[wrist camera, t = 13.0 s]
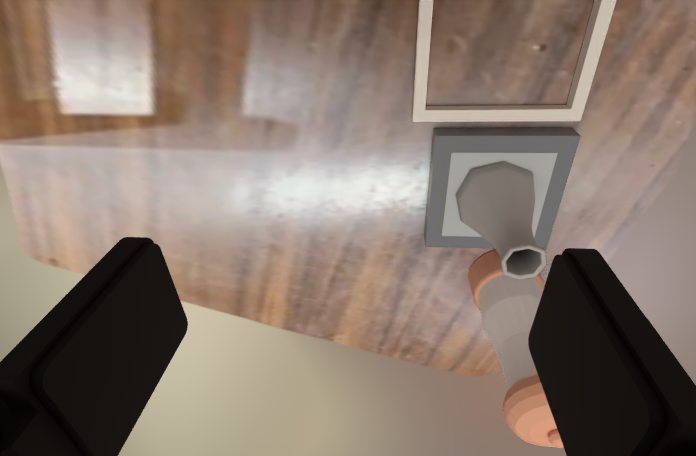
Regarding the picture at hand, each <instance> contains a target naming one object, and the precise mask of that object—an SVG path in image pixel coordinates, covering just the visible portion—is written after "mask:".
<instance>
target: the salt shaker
mask: <svg viewBox="0 0 696 456" xmlns="http://www.w3.org/2000/svg"><path fill="white" fill-rule="evenodd" d="M469 281H470V285H471V289H472V293H473V297H474V302H475V304H476V306H477V307H478V308H479V310H480V311H481V315H482V320H483V324H484V329H485V331H486V333H487V335H488V337H489V339H490V341H491V344H492V346H493V348H494V350H495V352H496V354H497V356H498V358H499V362H500V365H501V369H502V372H503V376H504V379H505V383H506V387H507V390H508V391H507V393H506V396H505V399H504V402H503V414H504V418H505V420H506V422H507V423H508V425H509V427H510V428H511V429H512V430H513V431H514V432H515V433H516V434H517V435H518V436H519V437H520V438H521V439H523V440H525V441H527V442H529V443H532V444H536V445H539V446H550V447H557V448H564V446H563V443H562V441H561V438H560V435H559V432H558V429H557V427H556V424H555V421H554V418H553V415H552V413H551V410H550V407H549V404H548V401H547V399H546V396H545V393H544V390H543V387H542V385H541V382H540V379H539V376H538V373H537V371H536V368H535V365H534V362H533V359H532V356H531V354H530V351H529V345H528V337H529V333H530V330H531V327H532V324H533V321H534V318H535V315H536V312H537V308H538V305H539V302H540V299H541V296H542V293H543V290H544V287H545V284H544V282H543V280H542V277H541V275H540V273H539V274H538V275H537V277H533V278H526V279H520V280H517V279H515V278H512V277H509V276H506V275H503V273H502V266H501V256H500V255H499V253H498V252H497V251H496V250H492V251H490V252H488V253H486V254H484V255H482V256H481V257H479V258H478V259H477V260H476V261H475V262H474V263H473V265H472V266H471V268H470V271H469Z"/></svg>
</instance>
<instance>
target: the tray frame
mask: <svg viewBox="0 0 696 456" xmlns="http://www.w3.org/2000/svg"><path fill="white" fill-rule="evenodd" d="M615 3H616V0H594V4H593V7H592V11H591V15H590V18H589V22H588V26H587V29H586V33H585V37H584V40H583V44H582V48H581V52H580V55H579V59H578V63H577V66H576V70H575V74H574V77H573V81H572V85H571V88H570V92H569V96H568V99H567V103H566V105H506V106H426V92H427V78H428V65H429V51H430V38H431V24H432V11H433V0H419V4H418V22H417V40H416V58H415V76H414V94H413V112H412V120H413V122H474V121H581V117H582V114H583V111H584V107H585V104H586V101H587V97H588V94H589V91H590V87H591V84H592V80H593V77H594V74H595V70H596V67H597V64H598V60H599V57H600V54H601V50H602V47H603V44H604V40H605V37H606V34H607V30H608V27H609V23H610V20H611V17H612V13H613V10H614V7H615Z"/></svg>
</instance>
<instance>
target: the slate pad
mask: <svg viewBox="0 0 696 456" xmlns="http://www.w3.org/2000/svg"><path fill="white" fill-rule="evenodd" d="M579 140H580V135H579V134H578V133H577V132H576V131H575V130H574V129H573V128H434V130H433V142H432V153H431V165H430V176H429V187H428V199H427V210H426V221H425V233H424V238H425V246H426V247H452V248H491V249H495V248H494V247H493V245H492V244H491V243H489V242H488V241H487V240H486V239H484V238H483V237H482V236H481V235H479V234H478V233H477V232H476V231H474V230H473V229H471V228H470V227H468V226H467V225H466V224H464V223H463V222H462V221H460V216H459V210H458V205H457V200H456V194H457V192H458V191H459V189H460V187H461V186H462V184H463V182H464V180H465V179H466V177H467V175H468V174H469V172H470V170H471V169H476V168H480V167H484V166H489V165H493V164H497V163H502V162H506V163H509V164H511V165H514V166H516V167H519V168H522V169H524V170H527V171H530V172H532V173H533V178H534V192H535V206H534V213H533V221H532V232H533V237H534V239H535V241H536V243H537V245H538V246H540V247H543V248H544V249H545V250H546V248H547V245H548V241H549V238H550V235H551V231H552V228H553V225H554V222H555V218H556V215H557V212H558V209H559V205H560V202H561V199H562V195H563V192H564V189H565V186H566V182H567V179H568V176H569V173H570V169H571V166H572V163H573V159H574V156H575V153H576V150H577V146H578V143H579Z"/></svg>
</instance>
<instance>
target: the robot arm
mask: <svg viewBox="0 0 696 456" xmlns="http://www.w3.org/2000/svg"><path fill="white" fill-rule="evenodd" d="M187 326H188V322H187V318H186V315H185V313H184V310H183V307H182V304H181V302H180V299H179V296H178V294H177V291H176V288H175V286H174V283H173V280H172V278H171V275H170V272H169V270H168V267H167V264H166V262H165V259H164V256H163V254H162V251H161V249H160V247H159V246H158V245H157V244H154V242H153V241H152V240H151V239H150V238H140V237H125V238H122V239H121V240H120V241H119V242H118V243H117V244H116V245H115V246H114V247H113V248H112V249H111V250H110V251H109V252H108V253H107V254H106V255H105V256H104V257H103V258H102V259H101V260H100V261H99V262H98V263H97V264H96V265H95V266H94V267H93V268H92V269H91V270H90V271H89V272H88V273H87V274H86V275H85V276H84V277H83V278H82V279H81V281H79V283H78V284H76V286H75V287H74V288H73V289H72V290H71V291H70V292H69V293H68V294H67V295H66V296H65V297H64V298H63V299H62V300H61V301H60V302H59V303H58V304H57V305H56V306H55V307H54V308H53V309H52V310H51V311H50V312H49V313H48V314H47V315H46V316H45V317H44V318H43V319H42V320H41V321H40V322H39V323H38V324H37V325H36V326H35V327H34V328H33V329H32V330H31V331H30V332H29V333H28V334H27V335H26V337H24V339H23V340H22V341H20V342H19V344H18V345H17V346H16V347H15V348H14V349H13V350H12V351H11V352H10V353H9V354H8V355H7V356H6V357H5V358H4V359H3V360H2V361H1V362H0V456H118V454H119V452H120V451H121V449H122V447H123V445H124V443H125V442H126V440H127V438H128V436H129V434H130V433H131V431H132V429H133V427H134V425H135V424H136V422H137V420H138V418H139V416H140V415H141V413H142V411H143V409H144V408H145V406H146V404H147V402H148V400H149V399H150V397H151V395H152V393H153V391H154V390H155V387H156V386H157V384H158V382H159V381H160V379H161V377H162V375H163V373H164V371H165V370H166V368H167V366H168V364H169V363H170V361H171V359H172V357H173V355H174V354H175V352H176V350H177V348H178V347H179V345H180V343H181V341H182V339H183V338H184V336H185V334H186V331H187ZM528 345H529V351H530V354H531V356H532V359H533V362H534V365H535V368H536V371H537V373H538V376H539V379H540V382H541V385H542V387H543V390H544V393H545V396H546V399H547V401H548V404H549V407H550V410H551V413H552V415H553V418H554V421H555V424H556V427H557V429H558V432H559V435H560V438H561V441H562V443H563V446H564V449H565V452H566V455H567V456H696V385H695V384H694V383H693V381H692V380H691V378H690V377H689V376H688V375H687V373H686V371H685V370H684V369H683V367H682V366H681V365H680V363H679V362H678V360H677V359H676V358H675V356H674V355H673V353H672V352H671V351H670V349H669V348H668V346H667V345H666V344H665V342H664V341H663V340H662V338H661V337H660V335H659V334H658V333H657V331H656V330H655V328H654V327H653V326H652V324H651V323H650V322H649V320H648V319H647V318H646V317H645V315H644V314H643V313H642V311H641V310H640V309H639V307H638V306H637V304H636V303H635V302H634V300H633V299H632V297H631V296H630V295H629V293H628V292H627V291H626V289H625V288H624V286H623V285H622V283H621V282H620V281H619V279H618V278H617V277H616V275H615V274H614V272H613V271H612V270H611V268H610V267H609V265H608V264H607V263H606V261H605V260H604V258H603V257H602V256H601V254H600V253H599V252H598V251H597V250H595V249H575V248H568V249H565V250H564V251H563V253H562V255H556V256H555V257H554V259H553V262H552V265H551V268H550V271H549V275H548V278H547V281H546V284H545V287H544V290H543V293H542V296H541V299H540V302H539V305H538V308H537V312H536V315H535V318H534V321H533V324H532V327H531V330H530V333H529V337H528Z"/></svg>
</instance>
